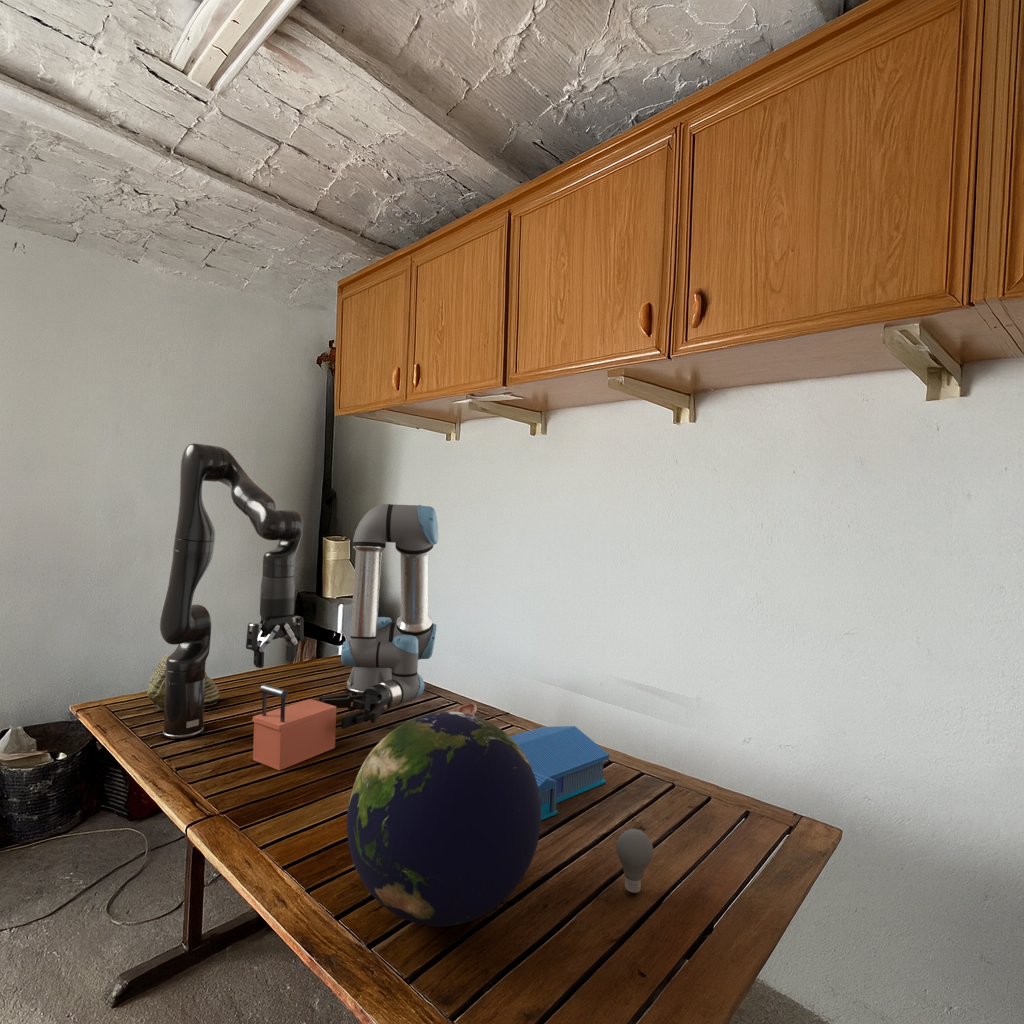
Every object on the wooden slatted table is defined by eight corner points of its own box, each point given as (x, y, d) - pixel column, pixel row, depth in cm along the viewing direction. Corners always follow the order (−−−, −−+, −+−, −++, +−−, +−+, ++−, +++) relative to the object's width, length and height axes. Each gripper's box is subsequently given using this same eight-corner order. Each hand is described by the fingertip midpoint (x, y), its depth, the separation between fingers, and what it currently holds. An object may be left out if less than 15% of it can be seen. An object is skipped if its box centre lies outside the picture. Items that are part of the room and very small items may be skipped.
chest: (279, 770, 145) (280, 730, 145) (252, 760, 150) (254, 721, 150) (335, 748, 160) (336, 711, 159) (309, 739, 165) (310, 703, 164)
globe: (299, 937, 91) (307, 730, 90) (409, 838, 119) (415, 679, 118) (489, 1009, 80) (499, 773, 79) (561, 881, 107) (569, 705, 107)
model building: (485, 844, 118) (488, 791, 117) (412, 795, 136) (414, 749, 136) (617, 787, 144) (619, 743, 144) (541, 752, 162) (543, 713, 162)
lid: (279, 730, 145) (280, 693, 145) (252, 721, 150) (253, 685, 150) (336, 710, 159) (337, 677, 159) (310, 703, 164) (311, 670, 164)
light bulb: (610, 879, 108) (613, 822, 108) (644, 879, 109) (647, 822, 109) (619, 902, 102) (622, 840, 102) (655, 901, 103) (658, 840, 103)
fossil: (144, 707, 182) (145, 655, 182) (212, 696, 194) (213, 647, 194) (151, 716, 175) (153, 662, 175) (221, 703, 188) (223, 653, 188)
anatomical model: (424, 710, 178) (437, 698, 190) (423, 724, 179) (436, 711, 190) (469, 715, 176) (480, 702, 187) (469, 729, 176) (479, 716, 187)
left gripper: (261, 600, 140) (259, 673, 141) (312, 593, 153) (310, 660, 153) (240, 596, 144) (238, 667, 145) (291, 590, 157) (289, 655, 157)
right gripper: (415, 719, 173) (358, 743, 155) (349, 701, 186) (290, 721, 168) (416, 692, 173) (359, 713, 155) (350, 675, 186) (291, 693, 167)
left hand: (275, 663), depth 149 cm, fingers open, 8 cm apart
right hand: (323, 717), depth 161 cm, fingers open, 13 cm apart
